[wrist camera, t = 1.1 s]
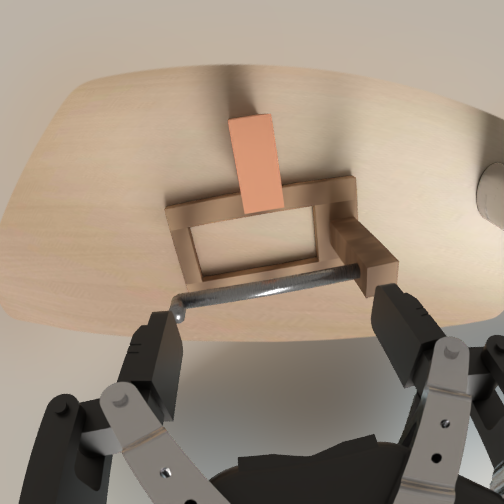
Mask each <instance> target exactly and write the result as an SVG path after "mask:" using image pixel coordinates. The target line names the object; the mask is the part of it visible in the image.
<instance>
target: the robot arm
mask: <svg viewBox="0 0 504 504" xmlns="http://www.w3.org/2000/svg"><path fill="white" fill-rule="evenodd" d="M477 206H478V210H479V212H480V214H481V216H482V217H483V218H484V219H486V220H488V221H489V222H491V223H492V224H494V225H496V226H497V227H499V228H500V229H502V230H503V231H504V164H501V163H494V164H492V165H490V166H489V167H488V168H487V169H486V170H485V172H484V173H483V175H482V177H481V179H480V182H479V185H478V190H477ZM371 324H372V328H373V331H374V333H375V334H376V336H377V338H378V340H379V342H380V343H381V345H382V347H383V349H384V351H385V353H386V354H387V356H388V358H389V360H390V362H391V364H392V366H393V368H394V370H395V371H396V373H397V375H398V377H399V379H400V381H401V383H402V385H403V387H404V388H408V387H411V386H414V385H415V387H416V389H417V390H416V392H415V395H414V398H413V402H412V405H411V408H410V412H409V415H408V418H407V421H406V424H405V427H404V430H403V432H402V435H401V437H400V439H399V442H398V443H397V444H395V443H390V442H377V440H376V437H375V435H374V434H373V435H369V436H365V437H361V438H357V439H353V440H349V441H345V442H342V443H340V444H337V445H336V446H333V447H331V448H329V449H327V450H324V451H322V452H320V453H317V454H315V455H312V456H290V455H277V454H269V455H260V456H249V457H238V466H235V467H232V468H229V469H226V470H224V471H222V472H220V473H218V474H217V475H215V476H214V477H212V478H211V479H210V480H207V478H205V476H204V475H203V474H202V473H201V472H200V470H199V469H198V468H197V467H196V466H195V465H194V463H193V462H192V461H191V460H190V459H189V457H188V456H187V455H186V454H185V453H184V451H183V450H182V449H181V448H180V446H179V445H178V444H177V443H176V441H175V440H174V439H173V437H172V436H171V435H170V434H169V432H168V431H167V430H166V429H165V428H164V427H163V422H164V421H173V420H174V411H175V404H176V397H177V390H178V383H179V375H180V370H181V363H182V356H183V346H182V340H181V337H180V334H179V331H178V328H177V325H176V321H175V318H174V315H173V313H172V311H160V312H152V314H151V316H150V319H149V322H148V325H141V326H140V327H139V329H138V330H137V331H136V332H135V333H134V334H133V337H132V339H131V342H130V346H129V348H128V351H127V354H126V357H125V359H124V363H123V365H122V368H121V371H120V374H119V377H118V380H117V383H114V384H112V385H110V386H109V387H107V388H106V389H105V390H104V391H103V393H102V394H101V397H100V398H99V399H95V400H90V401H86V402H81V403H79V401H78V400H77V399H76V398H75V397H74V396H73V395H70V394H61V395H58V396H56V397H55V398H53V399H52V400H51V401H50V402H49V404H48V406H47V408H46V411H45V413H44V417H43V419H42V422H41V425H40V428H39V431H38V434H37V437H36V440H35V443H34V446H33V449H32V453H31V456H30V460H29V463H28V467H27V471H26V474H25V479H24V482H23V487H22V491H21V495H20V500H19V504H106V502H107V493H108V485H109V477H110V469H111V463H112V456H113V454H116V453H121V452H122V454H123V456H124V458H125V460H126V461H127V463H128V465H129V467H130V468H131V470H132V471H133V473H134V475H135V476H136V478H137V479H138V481H139V483H140V484H141V486H142V487H143V489H144V490H145V492H146V493H147V494H148V496H149V497H150V499H151V500H152V502H153V503H154V504H504V405H503V403H502V401H501V399H500V398H499V396H498V394H497V392H496V391H495V388H496V387H497V385H498V386H499V387H500V389H501V391H502V392H503V394H504V336H501V335H494V336H491V337H489V338H488V340H487V342H486V344H485V346H484V347H468V346H467V345H466V344H465V343H464V342H463V341H462V340H460V339H458V338H455V337H447V336H446V335H445V334H444V332H443V331H442V330H441V328H440V327H439V326H438V325H437V323H436V322H435V321H434V319H433V318H432V317H431V316H430V315H429V314H428V312H427V311H426V309H425V308H423V306H422V304H421V303H420V302H419V301H418V300H417V299H416V298H415V297H413V296H412V295H410V294H408V293H403V292H402V291H401V289H400V288H399V287H398V286H397V284H396V283H389V284H384V285H378V286H376V288H375V294H374V301H373V307H372V314H371ZM469 416H471V418H472V420H473V422H474V424H475V427H476V429H477V431H478V433H479V435H480V437H481V439H482V442H483V444H484V446H485V448H486V450H487V453H488V455H489V458H490V460H491V462H492V465H493V467H494V472H493V475H492V481H491V483H490V489H488V488H486V487H484V486H482V485H480V484H477V483H475V482H473V481H471V480H469V479H467V478H465V477H463V476H461V475H459V474H458V473H459V469H460V465H461V460H462V456H463V451H464V446H465V441H466V436H467V430H468V424H469Z"/></svg>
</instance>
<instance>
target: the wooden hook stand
mask: <svg viewBox="0 0 504 504" xmlns="http://www.w3.org/2000/svg"><path fill="white" fill-rule="evenodd" d="M282 192H283V200H284V208H278V209H272V210H266V211H260V212H254V213H249V214H245V213H244V208H243V202H242V197H241V192H238V193H232V194H227V195H221V196H216V197H211V198H205V199H200V200H195V201H190V202H185V203H181V204H176V205H171V206H167V207H166V208H165V214H166V218H167V221H168V225H169V229H170V232H171V236H172V239H173V243H174V246H175V250H176V253H177V256H178V260H179V263H180V266H181V270H182V273H183V276H184V279H185V283H186V286H187V289H188V292H194V291H200V290H207V289H213V288H219V287H225V286H231V285H237V284H243V283H249V282H255V281H261V280H267V279H272V278H278V277H284V276H289V275H295V274H300V273H306V272H311V271H317V270H322V269H327V268H332V267H338V266H343V265H348V264H353V263H358V265H359V267H360V273H361V275H360V278H358V279H354V280H355V282H356V283H357V285H358V286H359V288H360V289H361V291H362V292H363V294H364V296H365V297H366V298H368V297H372V296H374V294H375V288H376V286H378V285H384V284H389V283H396V284H397V278H398V267H399V261H398V260H397V259H396V258H395V257H394V256H393V255H392V254H391V253H390V252H389V251H388V249H387V248H386V247H385V246H384V245H383V244H382V243H381V242H380V241H379V240H378V239H377V238H376V237H374V236H373V235H372V234H371V233H370V232H369V231H368V230H367V229H366V228H365V227H364V226H363V225H362V224H361V223H360V222H359V221H358V209H357V186H356V178H355V177H354V176H344V177H336V178H328V179H321V180H313V181H306V182H299V183H292V184H286V185H282ZM309 206H313V216H314V228H315V240H316V254H317V257H315V258H310V259H304V260H299V261H293V262H287V263H282V264H276V265H270V266H265V267H259V268H253V269H247V270H241V271H235V272H229V273H224V274H218V275H212V276H206V277H203V275H202V271H201V268H200V264H199V260H198V257H197V253H196V249H195V245H194V242H193V238H192V234H191V230H190V227H193V226H199V225H204V224H209V223H215V222H220V221H226V220H231V219H237V218H243V217H248V216H254V215H260V214H266V213H272V212H278V211H284V210H290V209H296V208H302V207H309Z"/></svg>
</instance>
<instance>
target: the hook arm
mask: <svg viewBox="0 0 504 504" xmlns="http://www.w3.org/2000/svg"><path fill="white" fill-rule="evenodd" d="M360 275H361V273H360V267H359V265H358V263H353V264H348V265H343V266H338V267H332V268H327V269H322V270H317V271H311V272H306V273H300V274H295V275H289V276H284V277H278V278H272V279H267V280H261V281H255V282H249V283H243V284H237V285H231V286H225V287H219V288H213V289H207V290H200V291H194V292H187V293H181V294H178V295H176V296H174V297H173V299H172V302H171V305H170V309H169V311H172V313H173V315H174V318H175V321H176V323H181V322H183V321H184V318H185V313H186V309H188V308H195V307H202V306H208V305H215V304H221V303H228V302H234V301H240V300H246V299H252V298H258V297H264V296H270V295H275V294H281V293H287V292H292V291H298V290H303V289H308V288H313V287H319V286H324V285H329V284H334V283H339V282H344V281H349V280H353V279H358V278H360Z"/></svg>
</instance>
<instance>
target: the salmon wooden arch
mask: <svg viewBox="0 0 504 504" xmlns="http://www.w3.org/2000/svg"><path fill="white" fill-rule="evenodd" d="M228 125H229V130H230V136H231V141H232V147H233V153H234V158H235V164H236V169H237V175H238V180H239V186H240V191H241V197H242V202H243V208H244V213H245V214H249V213H254V212H260V211H266V210H272V209H278V208H284V200H283V192H282V185H281V178H280V171H279V164H278V157H277V150H276V143H275V137H274V130H273V124H272V118H271V114H256V115H250V116H244V117H238V118H232V119H229V120H228Z"/></svg>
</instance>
